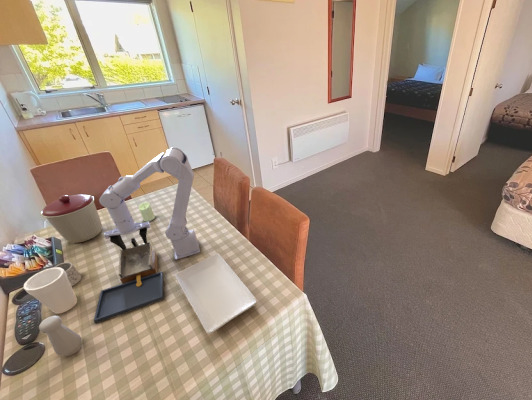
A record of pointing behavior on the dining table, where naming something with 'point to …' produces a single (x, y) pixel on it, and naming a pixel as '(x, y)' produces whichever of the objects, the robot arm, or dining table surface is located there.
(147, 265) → the dish
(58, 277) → the foam cup
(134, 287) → the tray
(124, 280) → the shallow wooden box
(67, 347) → the salt shaker
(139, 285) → the key
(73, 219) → the canister
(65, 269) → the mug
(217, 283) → the tray
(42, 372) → the dining table surface
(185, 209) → the robot arm
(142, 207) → the candle
